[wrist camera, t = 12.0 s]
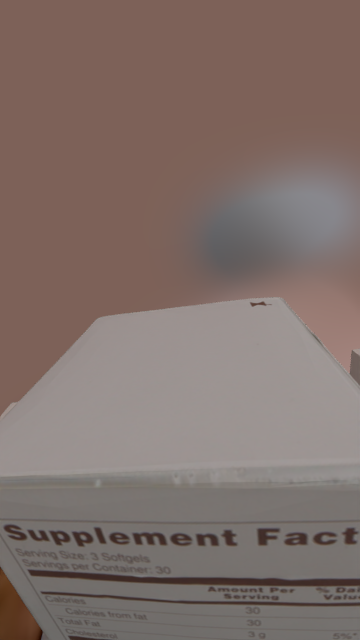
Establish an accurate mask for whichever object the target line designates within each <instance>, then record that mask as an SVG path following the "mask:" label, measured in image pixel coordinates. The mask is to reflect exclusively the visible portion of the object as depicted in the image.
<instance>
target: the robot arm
mask: <svg viewBox="0 0 360 640" xmlns="http://www.w3.org/2000/svg"><path fill="white" fill-rule="evenodd" d="M350 375H351V376H352V378H353V379H354V380H355V381H356V382H357V383H358V384H359V386H360V349H355V350H352V354H351V366H350ZM17 403H18V402H14V403H11V405H10V406H9V407H8V408H7V409H6V410H5V412H4V413H3V414H2V415H1V417H0V421H1V420H2V419H3V418H4V416H5V415H6V414H7V413H8V412H9V411H10V410H11V409H12V408H13V407H14V406H15V405H16V404H17Z"/></svg>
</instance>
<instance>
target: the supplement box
mask: <svg viewBox="0 0 360 640" xmlns="http://www.w3.org/2000/svg"><path fill="white" fill-rule="evenodd" d="M0 567H1V568H2V570H3V571H4V573H5V574H6V576H7V577H8V579H9V581H10V582H11V583H12V585H13V586H14V588H15V589H16V591H17V593H18V594H19V596H20V597H21V599H22V601H23V602H24V604H25V605H26V607H27V608H28V610H29V611H30V613H31V614H32V615H33V617H34V619H35V620H36V622H37V623H38V625H39V626H40V628H41V629H42V631H43V632H44V634H45V635H46V636H47V638H48V639H49V640H360V386H359V384H358V383H357V382H356V381H355V380H354V379H353V378H352V376H351V375H350V374H349V373H348V372H347V371H346V370H345V369H344V367H343V366H342V365H341V364H340V363H339V362H338V361H337V360H336V359H335V357H334V356H333V355H332V354H331V353H330V352H329V351H328V349H327V348H326V347H325V346H324V345H323V343H322V342H321V340H320V339H319V338H318V337H317V336H316V335H315V334H314V333H313V332H312V331H311V330H310V329H309V328H308V327H307V326H306V324H305V323H303V321H302V320H301V319H300V318H299V317H298V316H297V315H296V313H295V312H294V311H293V310H292V309H291V308H290V306H289V305H288V304H287V303H286V301H285V300H284V299H283V298H279V297H275V298H274V297H272V298H255V299H244V300H234V301H226V302H219V303H210V304H201V305H193V306H185V307H177V308H169V309H161V310H153V311H144V312H136V313H126V314H119V315H112V316H105V317H100V318H98V319H96V320H95V321H94V322H93V323H92V325H91V326H90V327H89V328H88V329H87V331H85V332H84V334H82V336H81V337H80V338H79V339H78V340H77V341H76V342H75V343H74V344H73V345H72V346H71V347H70V348H69V349H68V350H67V352H65V354H64V355H63V356H62V357H61V358H60V359H59V360H58V361H57V362H56V363H55V364H54V365H53V366H52V367H51V368H50V369H49V370H48V371H47V372H46V374H45V375H44V376H43V377H42V378H41V379H40V380H39V381H38V382H37V383H36V384H35V385H34V386H33V387H32V388H31V389H30V390H29V391H28V392H27V393H26V395H25V396H24V397H23V398H22V399H21V400H20V401H19V402H18V403H17V404H16V405H15V406H14V407H13V408H12V409H11V410H10V411H9V412H8V413H7V414H6V415H5V416H4V418H3V419H2V420H1V421H0Z"/></svg>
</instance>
